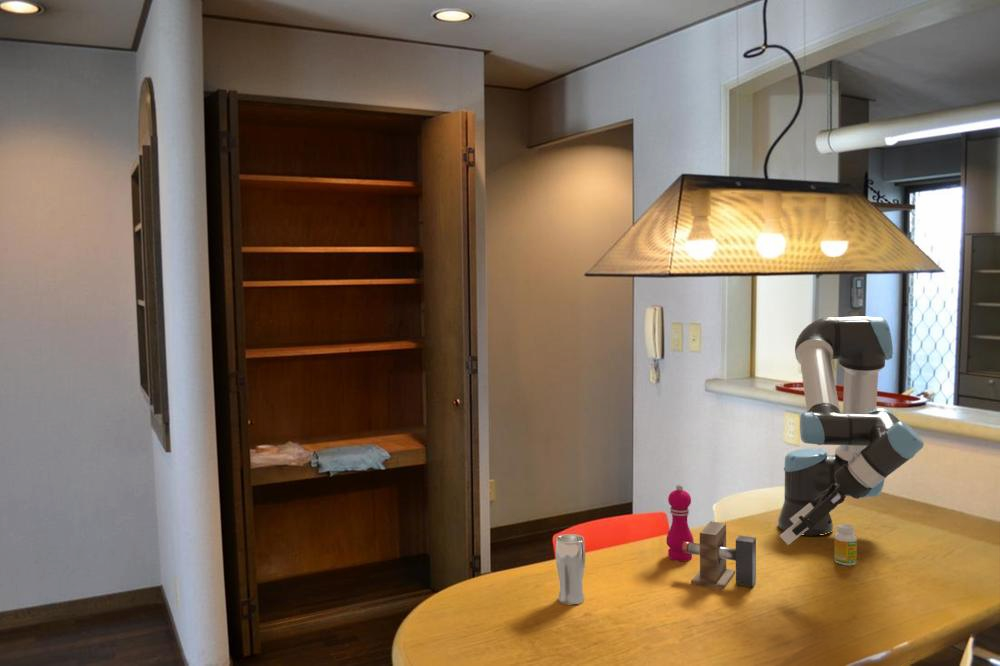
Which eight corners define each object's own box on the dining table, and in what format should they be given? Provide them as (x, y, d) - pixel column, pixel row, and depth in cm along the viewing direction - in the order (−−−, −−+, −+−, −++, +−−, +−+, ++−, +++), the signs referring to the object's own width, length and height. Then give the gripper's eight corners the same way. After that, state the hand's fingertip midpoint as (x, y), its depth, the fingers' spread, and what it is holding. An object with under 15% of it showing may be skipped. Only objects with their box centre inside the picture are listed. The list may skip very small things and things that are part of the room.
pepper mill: (691, 552, 215) (691, 481, 214) (695, 562, 208) (695, 488, 207) (665, 552, 216) (664, 481, 215) (668, 561, 209) (667, 488, 208)
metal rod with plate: (756, 581, 194) (755, 537, 193) (752, 586, 190) (752, 542, 189) (686, 569, 202) (685, 527, 202) (681, 574, 199) (681, 532, 198)
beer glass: (550, 599, 187) (549, 538, 186) (571, 591, 191) (570, 531, 190) (571, 608, 181) (570, 545, 180) (592, 600, 186) (591, 538, 185)
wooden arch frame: (735, 573, 200) (735, 523, 199) (723, 590, 190) (723, 537, 189) (704, 568, 204) (703, 519, 203) (690, 584, 194) (690, 532, 193)
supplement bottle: (849, 567, 202) (849, 530, 201) (830, 561, 206) (830, 525, 205) (860, 562, 205) (861, 526, 204) (841, 557, 209) (841, 521, 209)
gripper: (851, 452, 190) (786, 505, 199) (839, 476, 169) (767, 534, 177) (875, 475, 188) (808, 528, 196) (866, 503, 166) (791, 561, 175)
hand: (789, 531), depth 187 cm, fingers open, 13 cm apart
